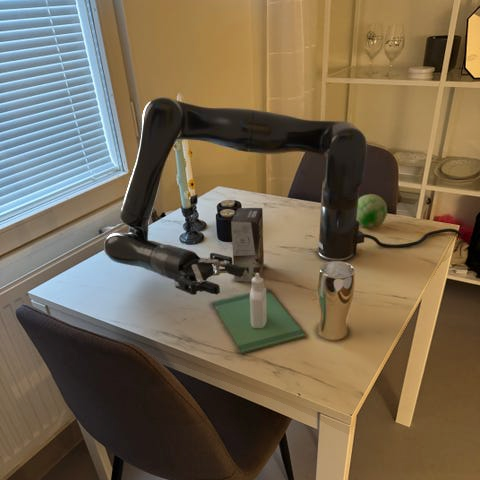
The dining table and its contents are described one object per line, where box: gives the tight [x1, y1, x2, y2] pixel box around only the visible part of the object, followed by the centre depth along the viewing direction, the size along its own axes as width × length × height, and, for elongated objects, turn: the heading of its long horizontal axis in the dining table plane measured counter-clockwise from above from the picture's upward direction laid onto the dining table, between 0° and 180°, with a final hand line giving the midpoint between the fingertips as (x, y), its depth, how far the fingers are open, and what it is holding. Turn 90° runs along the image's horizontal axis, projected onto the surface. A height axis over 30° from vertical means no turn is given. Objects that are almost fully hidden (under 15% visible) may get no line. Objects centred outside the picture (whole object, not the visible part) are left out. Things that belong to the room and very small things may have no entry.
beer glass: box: [317, 261, 356, 341], centre depth 93 cm, size 7×7×15 cm
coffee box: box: [230, 207, 265, 283], centre depth 114 cm, size 9×6×16 cm
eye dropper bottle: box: [249, 273, 267, 328], centre depth 97 cm, size 4×6×12 cm
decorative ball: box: [356, 193, 388, 230], centre depth 135 cm, size 10×10×10 cm
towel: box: [212, 288, 306, 354], centre depth 102 cm, size 14×20×1 cm
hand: (230, 281), depth 99 cm, fingers open, 8 cm apart
